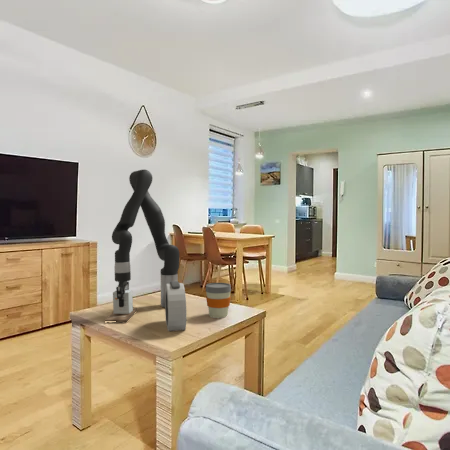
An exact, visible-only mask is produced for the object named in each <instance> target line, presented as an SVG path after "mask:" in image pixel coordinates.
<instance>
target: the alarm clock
mask: <svg viewBox="0 0 450 450" xmlns="http://www.w3.org/2000/svg"><path fill="white" fill-rule="evenodd" d="M185 290H186V288H185V285H184V282H179V281H173V282H170V284H166V287H165V307H164V311H165V313H164V315H165V316H164V317H165V325H166V329H167V332H176V331H177V332H178V331H185V330H186V329H187V297H186V291H185Z"/></svg>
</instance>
